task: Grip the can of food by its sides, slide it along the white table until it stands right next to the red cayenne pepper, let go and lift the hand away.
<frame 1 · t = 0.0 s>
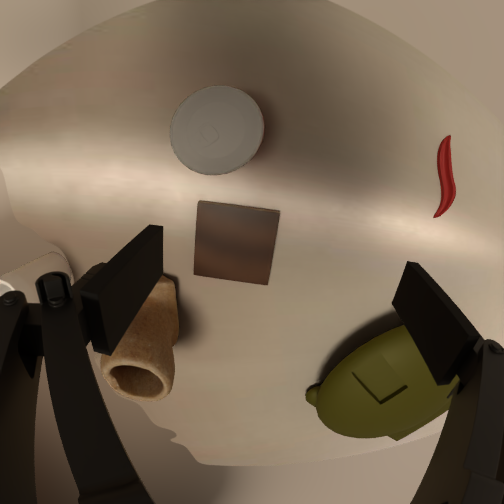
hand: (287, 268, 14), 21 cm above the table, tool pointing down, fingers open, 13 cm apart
foam cup: (58, 268, 41), on the table
spaceship: (397, 373, 46), on the table
cayenne pepper: (444, 177, 32), on the table
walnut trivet: (234, 242, 37), on the table
canned food: (231, 130, 32), on the table
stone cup: (156, 304, 42), on the table
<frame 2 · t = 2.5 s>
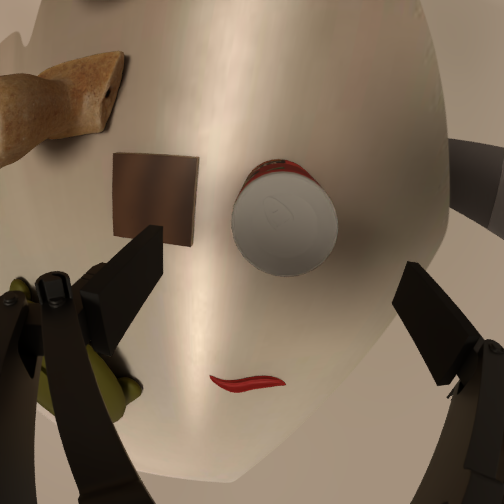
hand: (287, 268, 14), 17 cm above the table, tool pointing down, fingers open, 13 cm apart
spaceship: (62, 357, 45), on the table
cayenne pepper: (247, 381, 42), on the table
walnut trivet: (153, 197, 31), on the table
canned food: (280, 194, 30), on the table
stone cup: (76, 106, 27), on the table
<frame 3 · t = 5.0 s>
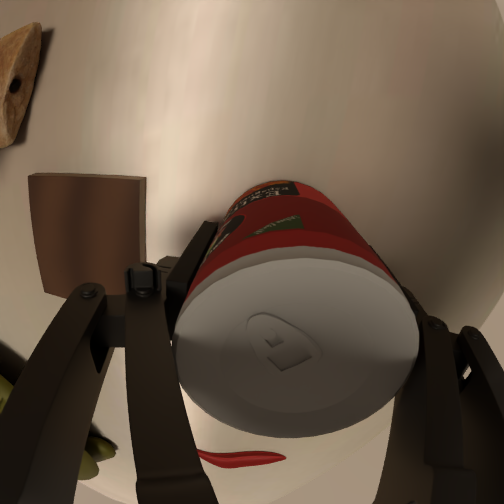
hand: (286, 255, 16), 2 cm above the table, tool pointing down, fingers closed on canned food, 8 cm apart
spaceship: (28, 404, 32), on the table
cayenne pepper: (238, 454, 30), on the table
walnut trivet: (86, 241, 19), on the table
canned food: (284, 240, 18), on the table, touching gripper
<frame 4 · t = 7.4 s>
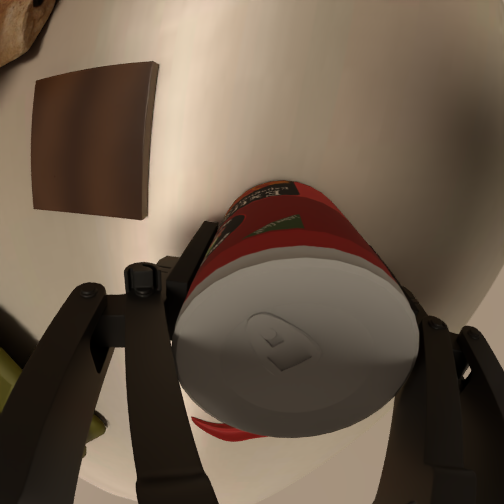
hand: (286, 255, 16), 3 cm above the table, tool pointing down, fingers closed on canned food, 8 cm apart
spaceship: (14, 376, 30), on the table
cayenne pepper: (246, 425, 27), on the table
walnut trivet: (86, 140, 16), on the table
canned food: (284, 239, 18), on the table, touching gripper
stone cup: (8, 36, 12), on the table
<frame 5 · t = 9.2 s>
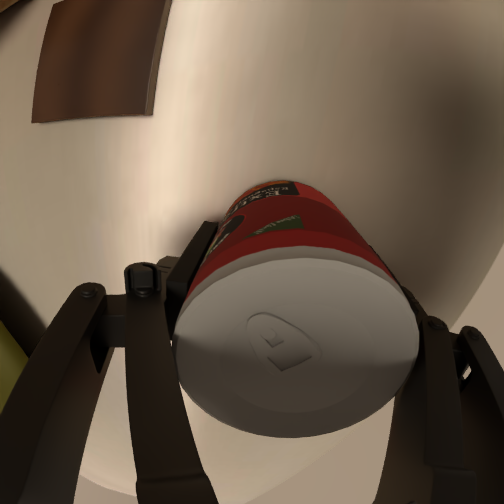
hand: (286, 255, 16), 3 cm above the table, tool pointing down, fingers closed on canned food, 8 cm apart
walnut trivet: (97, 49, 13), on the table
canned food: (284, 240, 18), on the table, touching gripper
when the fingers open (2 cm above the table, at t = 10.1 s): canned food stays where it is, on the table.
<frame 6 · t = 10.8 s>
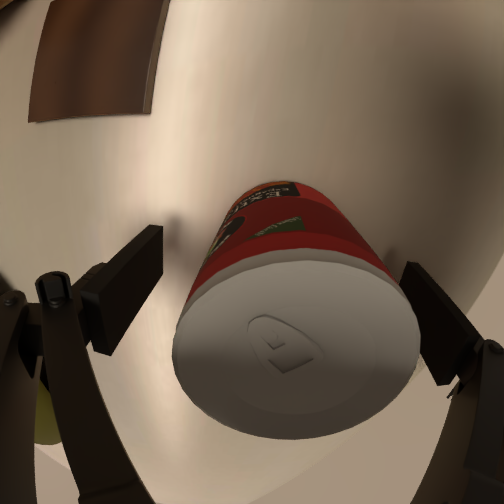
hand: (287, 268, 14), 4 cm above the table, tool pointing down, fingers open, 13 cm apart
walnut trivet: (94, 47, 13), on the table
canned food: (284, 240, 18), on the table
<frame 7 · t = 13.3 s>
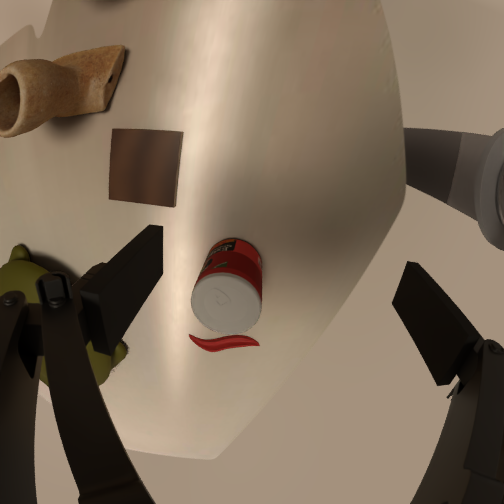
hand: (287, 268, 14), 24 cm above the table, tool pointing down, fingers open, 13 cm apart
spaceship: (55, 322, 49), on the table
cayenne pepper: (223, 341, 47), on the table
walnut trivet: (144, 165, 36), on the table
canned food: (234, 262, 41), on the table
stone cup: (82, 90, 31), on the table
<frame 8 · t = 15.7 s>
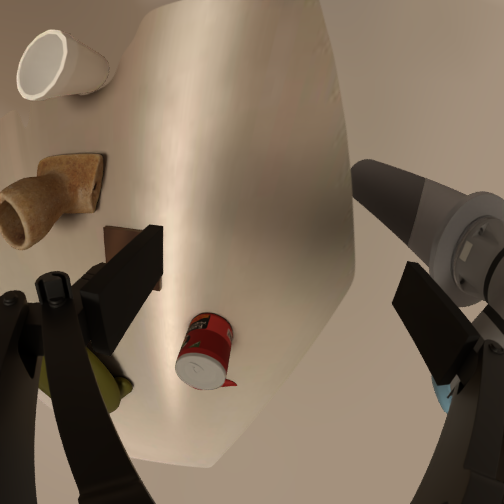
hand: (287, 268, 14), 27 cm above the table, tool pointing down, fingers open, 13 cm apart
foam cup: (93, 73, 33), on the table
spaceship: (71, 361, 58), on the table
cayenne pepper: (208, 381, 56), on the table
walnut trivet: (133, 257, 45), on the table
canned food: (211, 328, 50), on the table
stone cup: (72, 187, 41), on the table
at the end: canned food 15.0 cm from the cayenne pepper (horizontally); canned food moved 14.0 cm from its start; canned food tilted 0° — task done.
